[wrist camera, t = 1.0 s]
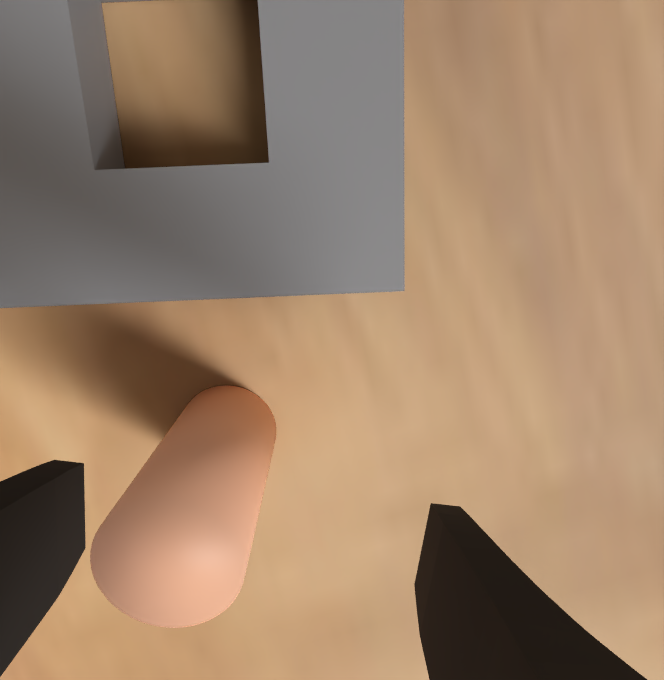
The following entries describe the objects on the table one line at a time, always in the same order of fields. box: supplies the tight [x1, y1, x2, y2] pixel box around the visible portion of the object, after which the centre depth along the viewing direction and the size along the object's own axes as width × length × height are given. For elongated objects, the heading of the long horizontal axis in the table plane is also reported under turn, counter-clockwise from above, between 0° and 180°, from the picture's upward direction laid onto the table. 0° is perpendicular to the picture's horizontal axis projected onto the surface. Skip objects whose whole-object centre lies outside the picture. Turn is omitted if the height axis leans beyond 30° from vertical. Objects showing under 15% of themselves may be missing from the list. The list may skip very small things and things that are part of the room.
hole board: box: [0, 0, 404, 308], centre depth 16 cm, size 14×14×3 cm
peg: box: [90, 385, 276, 628], centre depth 16 cm, size 4×4×8 cm
